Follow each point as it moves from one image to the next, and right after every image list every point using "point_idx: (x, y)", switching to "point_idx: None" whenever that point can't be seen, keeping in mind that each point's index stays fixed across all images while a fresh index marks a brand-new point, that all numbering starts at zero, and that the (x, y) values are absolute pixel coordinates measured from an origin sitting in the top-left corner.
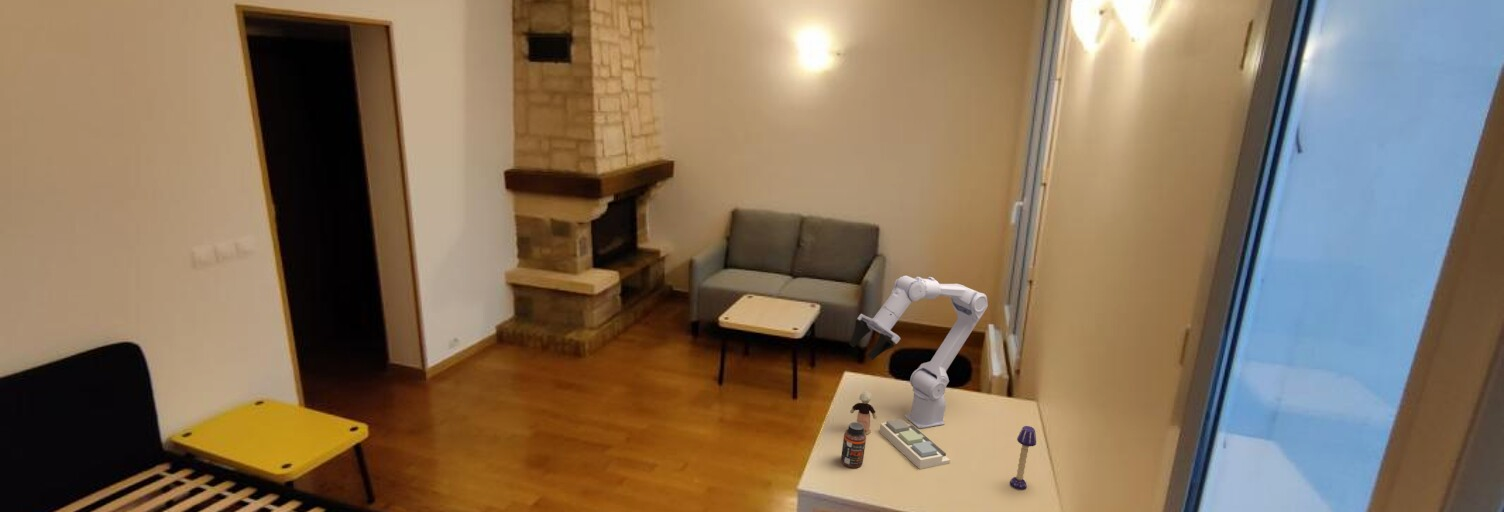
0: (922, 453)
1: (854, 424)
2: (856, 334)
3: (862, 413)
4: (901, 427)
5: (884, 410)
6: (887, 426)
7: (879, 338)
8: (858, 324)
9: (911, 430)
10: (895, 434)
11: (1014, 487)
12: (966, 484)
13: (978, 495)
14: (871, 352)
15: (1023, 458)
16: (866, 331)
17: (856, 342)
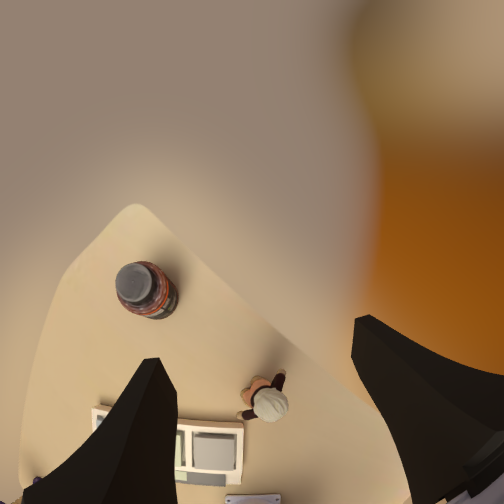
0: (96, 419)
1: (139, 280)
2: (408, 371)
3: (256, 389)
4: (197, 452)
5: (315, 469)
6: (227, 436)
7: (96, 491)
8: (493, 399)
9: (179, 462)
10: (188, 430)
11: (37, 477)
12: (51, 433)
13: (29, 423)
14: (136, 378)
15: (17, 499)
16: (418, 479)
17: (369, 377)
